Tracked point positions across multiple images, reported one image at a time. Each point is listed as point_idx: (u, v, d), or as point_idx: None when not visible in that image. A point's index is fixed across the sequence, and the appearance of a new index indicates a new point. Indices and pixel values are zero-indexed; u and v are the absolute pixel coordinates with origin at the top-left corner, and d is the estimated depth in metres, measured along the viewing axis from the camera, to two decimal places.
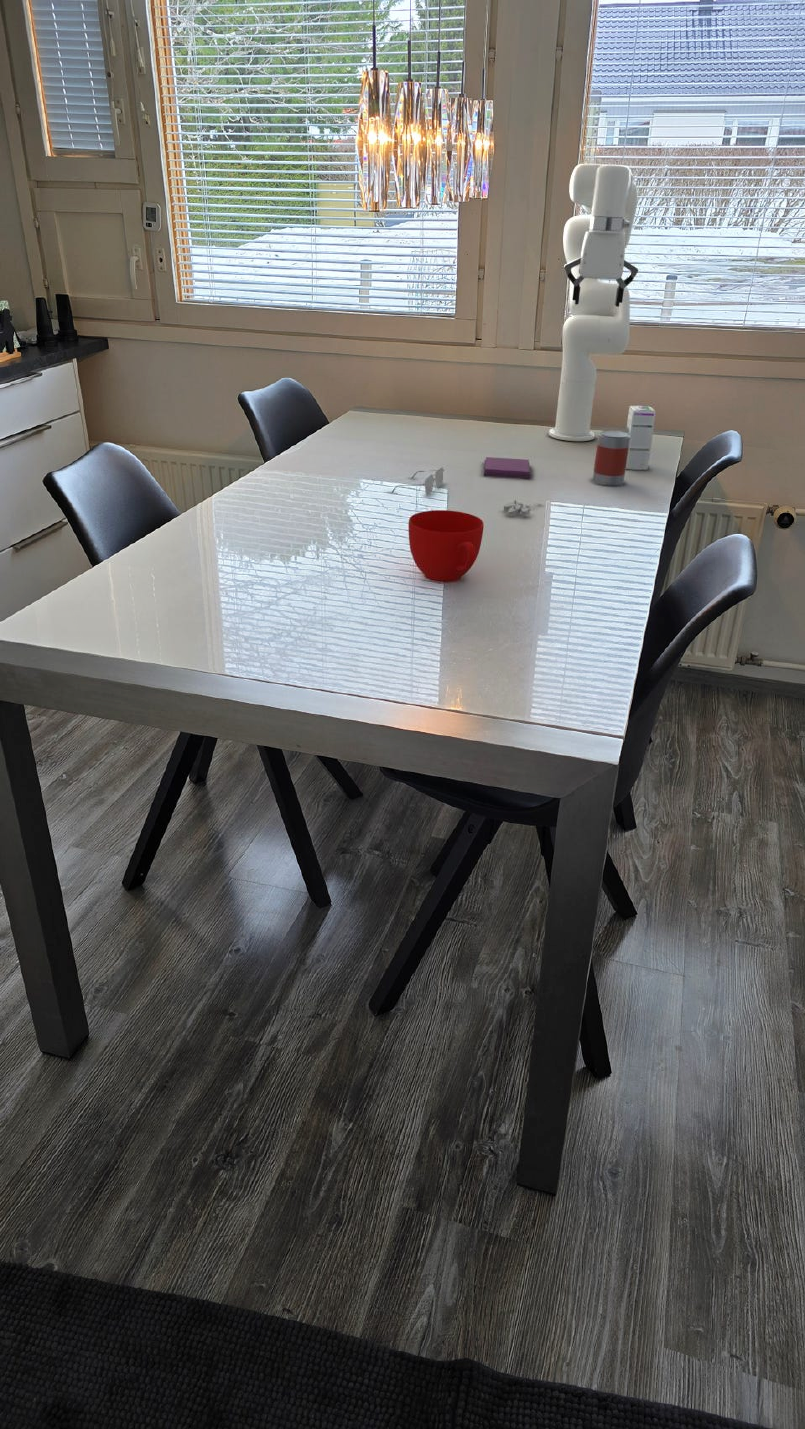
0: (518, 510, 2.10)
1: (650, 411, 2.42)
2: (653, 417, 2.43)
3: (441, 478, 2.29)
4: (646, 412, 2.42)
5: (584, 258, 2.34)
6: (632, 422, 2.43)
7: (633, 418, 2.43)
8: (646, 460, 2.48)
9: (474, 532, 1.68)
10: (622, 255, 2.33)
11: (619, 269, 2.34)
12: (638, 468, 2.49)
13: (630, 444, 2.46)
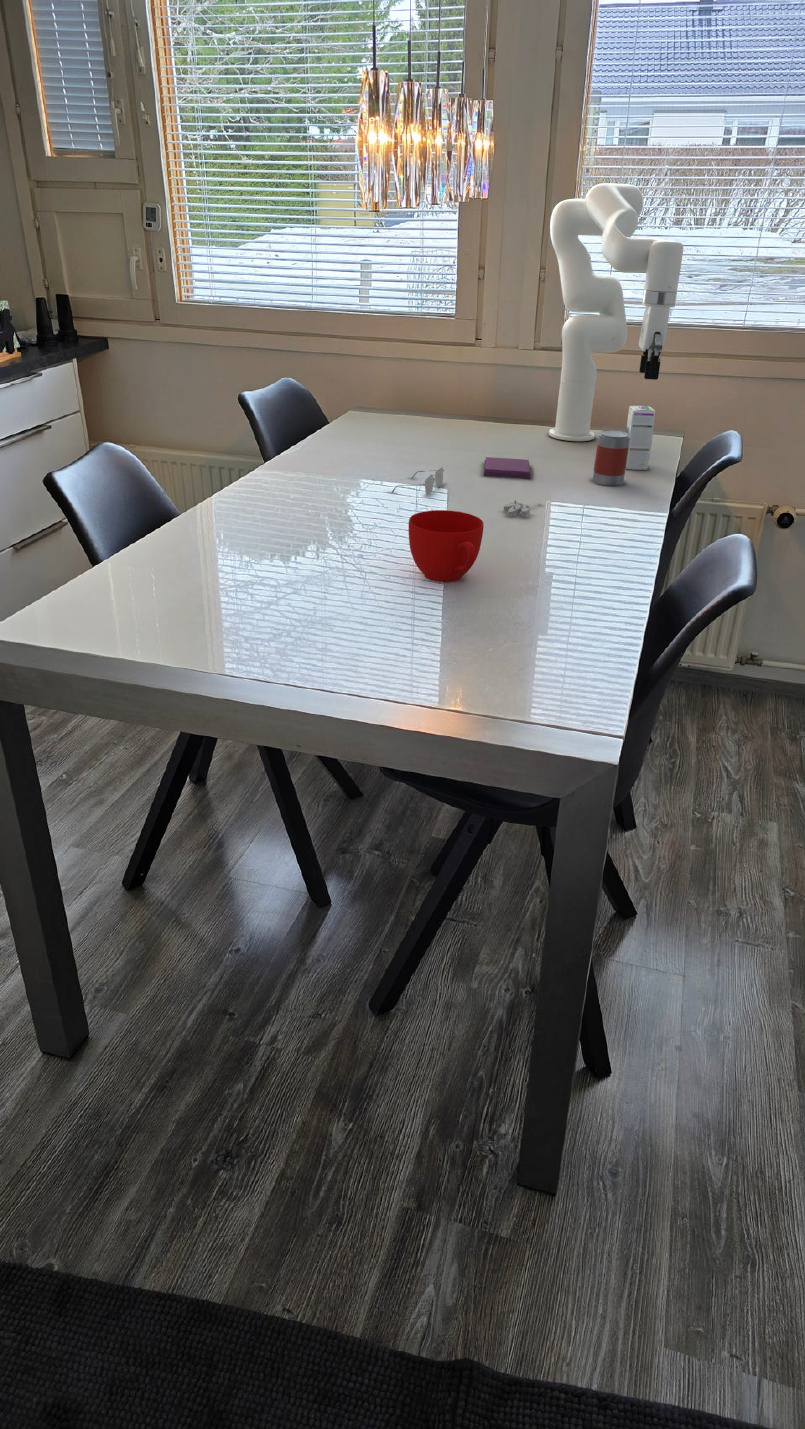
0: (518, 510, 2.10)
1: (650, 411, 2.42)
2: (653, 417, 2.43)
3: (441, 478, 2.29)
4: (646, 412, 2.42)
5: None
6: (632, 422, 2.43)
7: (633, 418, 2.43)
8: (646, 460, 2.48)
9: (474, 532, 1.68)
10: None
11: None
12: (638, 468, 2.49)
13: (630, 444, 2.46)
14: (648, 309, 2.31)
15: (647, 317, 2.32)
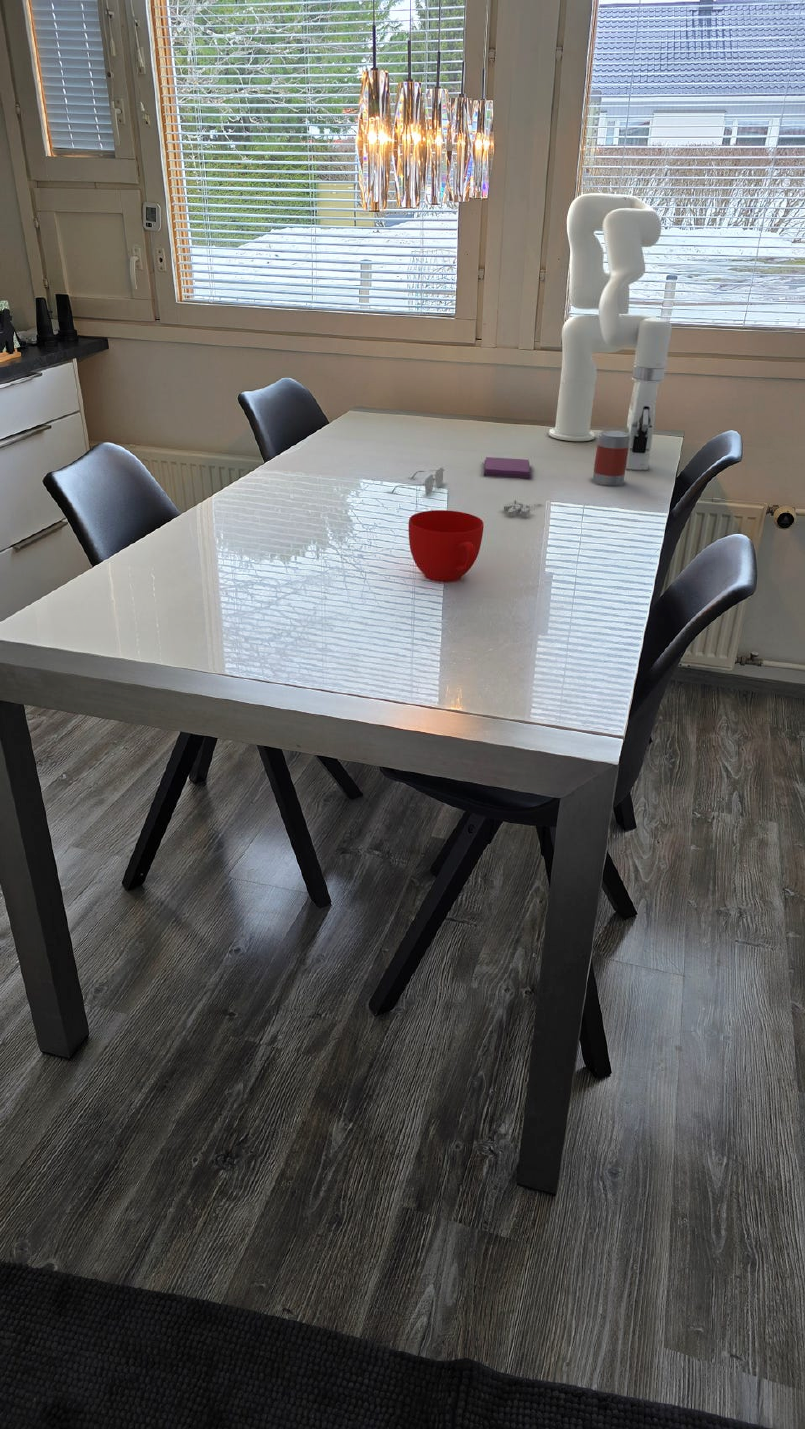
0: (518, 510, 2.10)
1: None
2: (653, 417, 2.43)
3: (441, 478, 2.29)
4: None
5: (654, 408, 2.40)
6: None
7: None
8: (646, 460, 2.48)
9: (474, 532, 1.68)
10: None
11: None
12: (638, 468, 2.49)
13: (630, 444, 2.46)
14: (637, 384, 2.39)
15: (636, 392, 2.40)
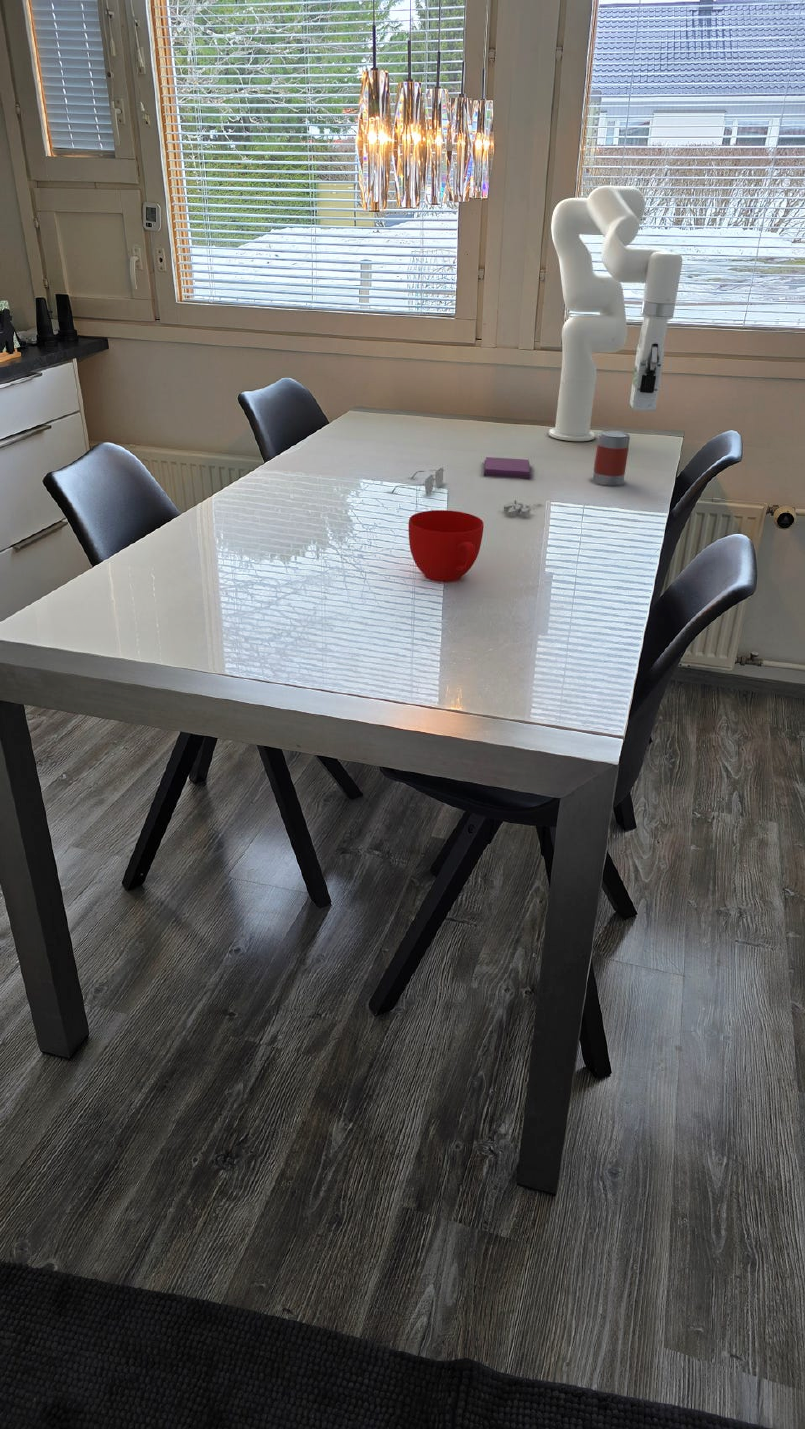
0: (518, 510, 2.10)
1: None
2: (662, 355, 2.36)
3: (441, 478, 2.29)
4: None
5: (663, 345, 2.33)
6: None
7: None
8: (654, 401, 2.41)
9: (474, 532, 1.68)
10: None
11: None
12: (646, 409, 2.42)
13: (638, 384, 2.39)
14: (646, 320, 2.33)
15: (645, 328, 2.33)
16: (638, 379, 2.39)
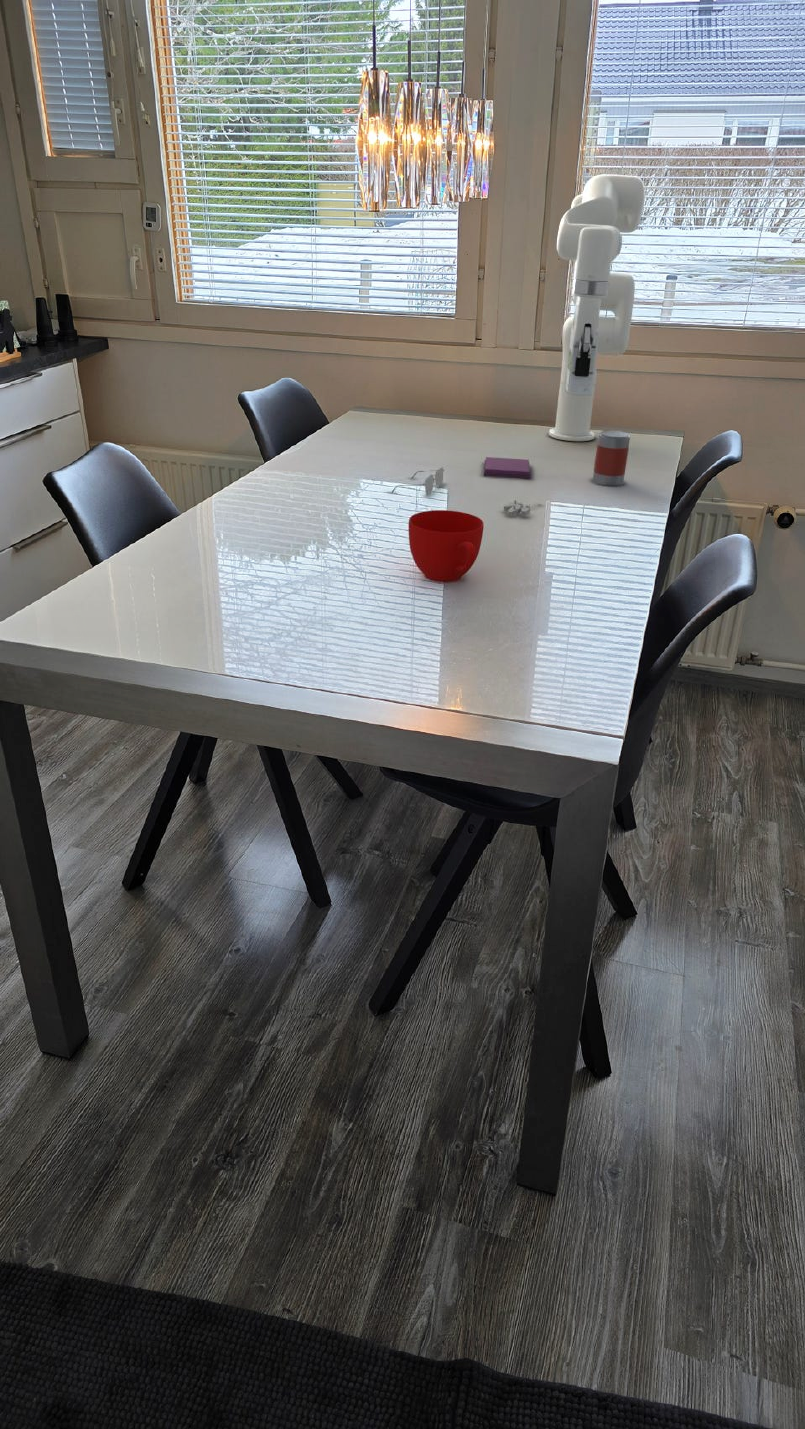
0: (518, 510, 2.10)
1: None
2: (596, 336, 2.23)
3: (441, 478, 2.29)
4: None
5: (597, 325, 2.21)
6: None
7: None
8: (590, 385, 2.28)
9: (474, 532, 1.68)
10: None
11: None
12: (582, 394, 2.29)
13: (572, 367, 2.27)
14: (578, 299, 2.20)
15: (577, 308, 2.20)
16: (572, 362, 2.26)
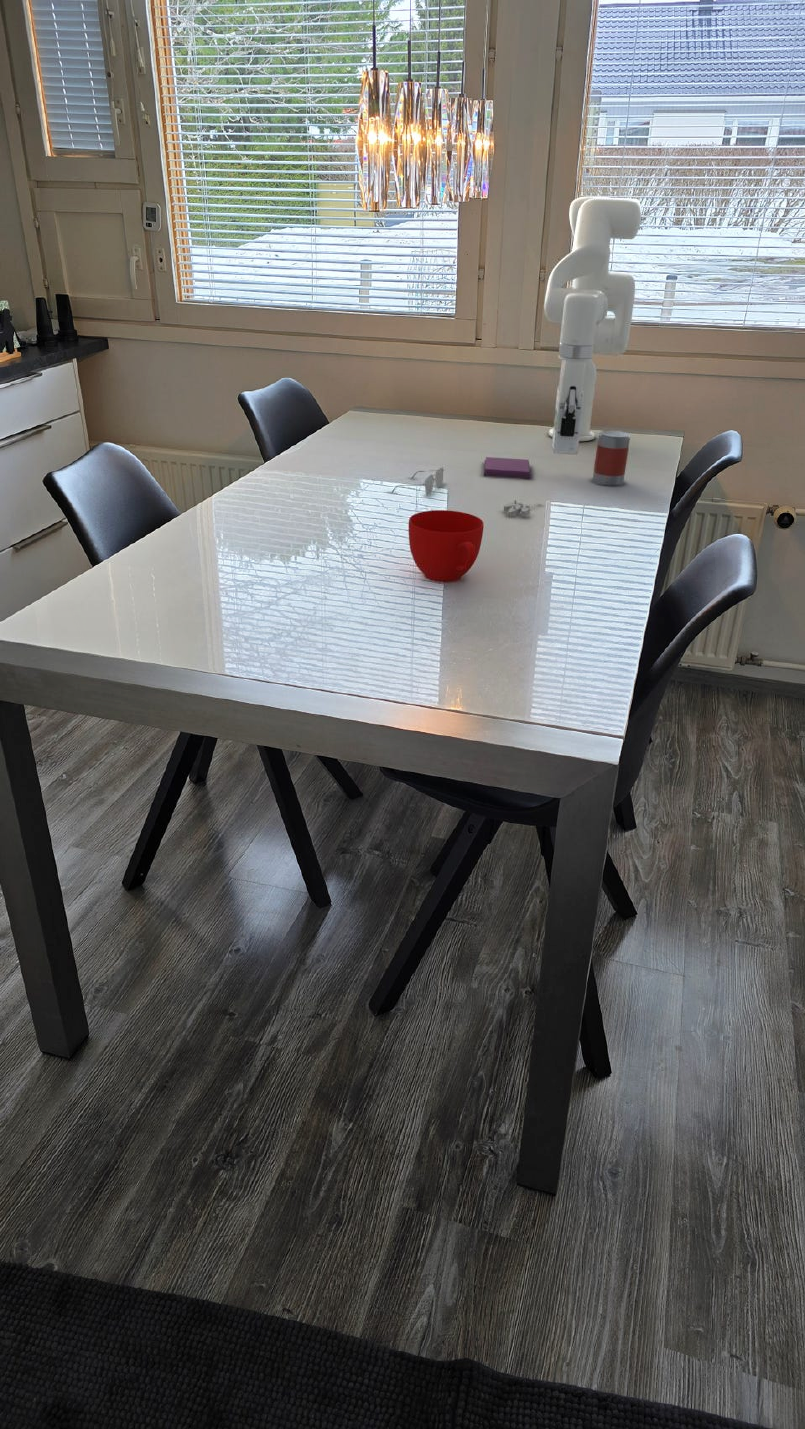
0: (518, 510, 2.10)
1: None
2: (581, 398, 2.29)
3: (441, 478, 2.29)
4: None
5: (582, 388, 2.26)
6: None
7: None
8: (576, 444, 2.34)
9: (474, 532, 1.68)
10: None
11: None
12: (567, 452, 2.35)
13: (558, 427, 2.32)
14: (563, 363, 2.25)
15: (562, 371, 2.26)
16: (558, 422, 2.31)
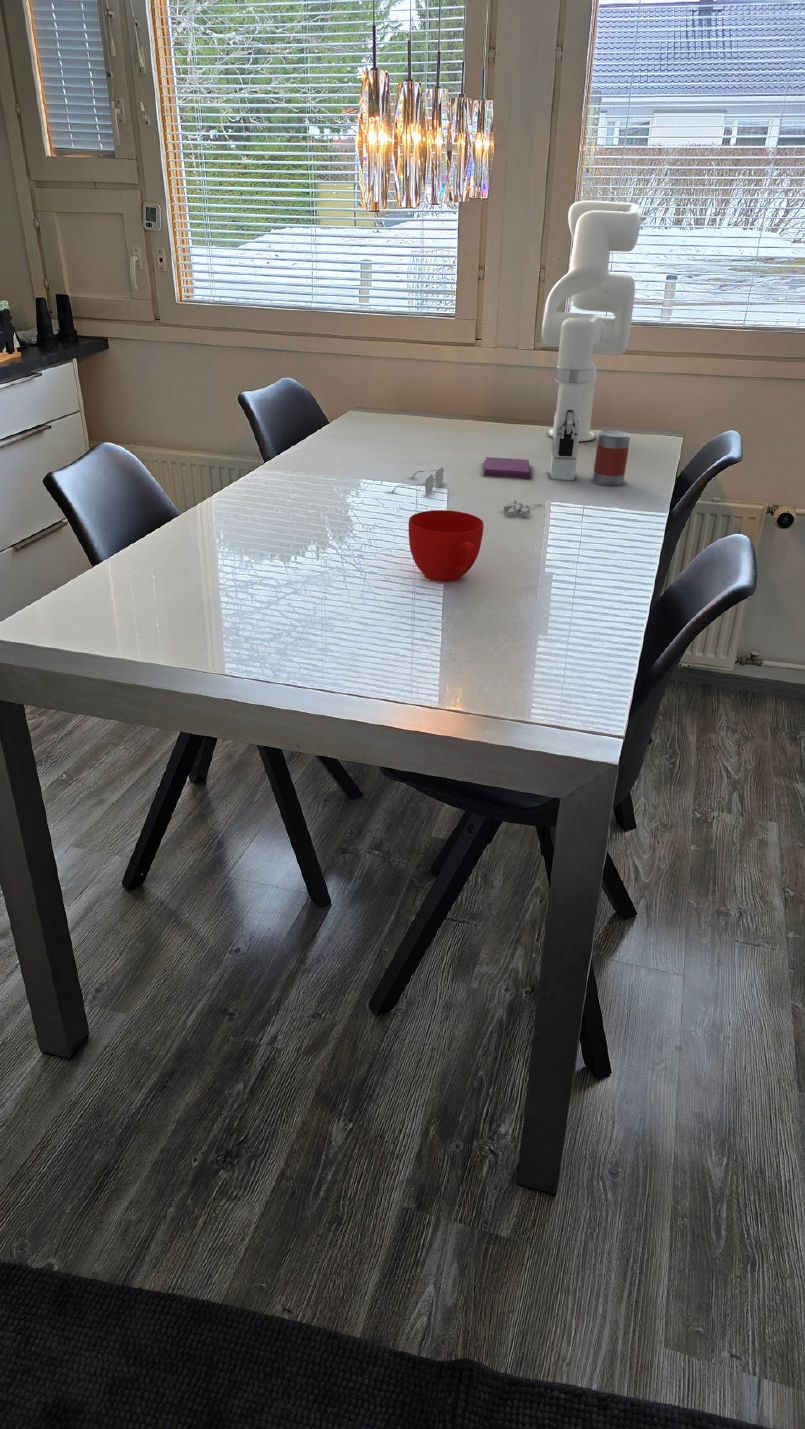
0: (518, 510, 2.10)
1: None
2: (578, 425, 2.32)
3: (441, 478, 2.29)
4: None
5: (579, 411, 2.29)
6: (556, 430, 2.32)
7: None
8: (573, 470, 2.37)
9: (474, 532, 1.68)
10: None
11: None
12: (564, 478, 2.38)
13: (555, 453, 2.35)
14: (561, 386, 2.28)
15: (560, 395, 2.28)
16: (555, 448, 2.34)
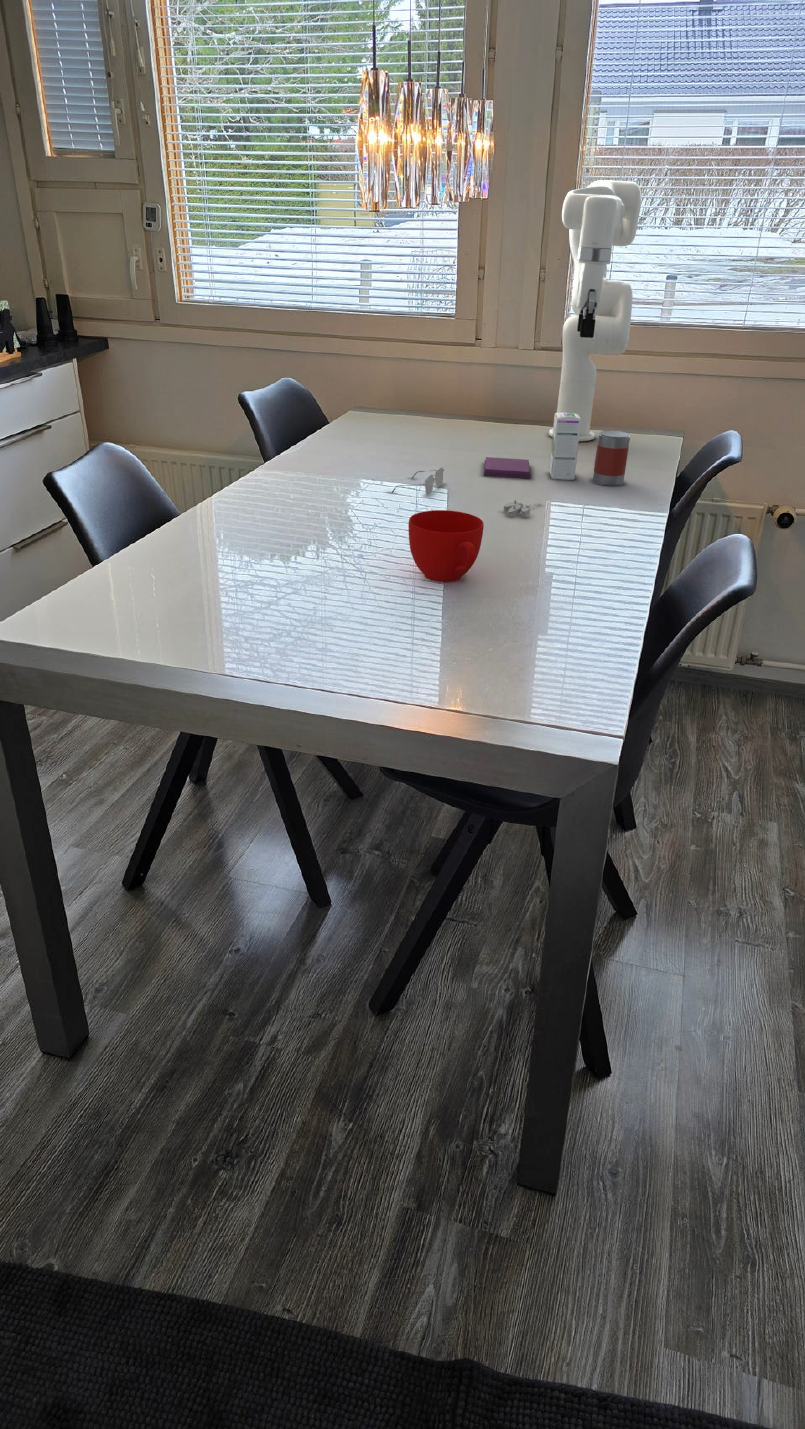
0: (518, 510, 2.10)
1: (575, 418, 2.31)
2: (578, 424, 2.32)
3: (441, 478, 2.29)
4: (571, 419, 2.31)
5: (600, 291, 2.31)
6: (556, 430, 2.32)
7: (557, 426, 2.32)
8: (573, 470, 2.37)
9: (474, 532, 1.68)
10: None
11: None
12: (564, 478, 2.38)
13: (555, 453, 2.35)
14: (583, 266, 2.30)
15: (582, 274, 2.30)
16: (555, 448, 2.34)
